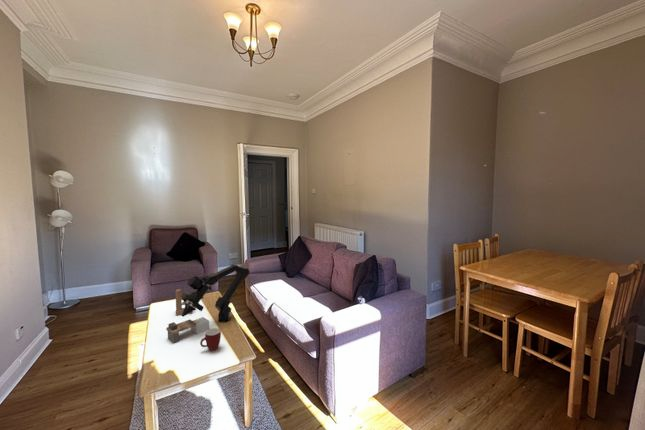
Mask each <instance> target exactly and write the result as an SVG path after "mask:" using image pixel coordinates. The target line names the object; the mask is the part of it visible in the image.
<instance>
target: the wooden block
mask: <svg viewBox="0 0 645 430" xmlns="http://www.w3.org/2000/svg"><path fill="white" fill-rule="evenodd" d="M181 298H182V289H181V288H178V289H176V290H175V316H182V313H183V311H184V308H185V307H182V306H185V303H186V302H185V301H183V300H181ZM184 302H185V303H184ZM193 313H194V311H192V312H190V313H189V314H188V315H191V314H193Z"/></svg>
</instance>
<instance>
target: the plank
mask: <svg viewBox="0 0 645 430" xmlns="http://www.w3.org/2000/svg"><path fill="white" fill-rule="evenodd" d="M167 325H168V327H166V329H165V330H166V331H167V333H168V332H170V333H171V334H172V335H173V334H175V333H178V332H179V333H181V332H183V331H186V330H188V329H191V327H194V326H196V323H195V322H193V320H192V319H187V320H184V321H182V322H179V323H176V322H170V323H168V324H167Z"/></svg>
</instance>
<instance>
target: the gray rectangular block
mask: <svg viewBox="0 0 645 430" xmlns="http://www.w3.org/2000/svg"><path fill="white" fill-rule="evenodd" d="M192 321H193V322H195V323H196V326H194V327H191V328H190V331H191V332H193V333H195V334H196V335H197V334H201V333H203V332H206V331H207V330H209V329H210V320H209V319H207V318H206V317H204V316H201V317H199V318H196V319H193V320H192ZM167 339H168V340H169V341H170V342H171V343H173V344H175V343H178V342H179V341H180V332H178V333H175V334H173V335H172V334H171V333H170V332H168V331H167Z"/></svg>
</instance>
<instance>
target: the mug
mask: <svg viewBox="0 0 645 430" xmlns="http://www.w3.org/2000/svg"><path fill="white" fill-rule="evenodd" d="M204 333H205V334H204V338H203V337H202V339H201V340H200V343H199V344H200V347H202V348H208V350H209V351H211V352H214V351H215V352H216V350H218V348H219V347H220V342H221V338H222V330H221V328H217V327H215V328H209V329H208V330H206V331H204ZM203 341H205V343H206V344H205V345H204V344H203Z"/></svg>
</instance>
